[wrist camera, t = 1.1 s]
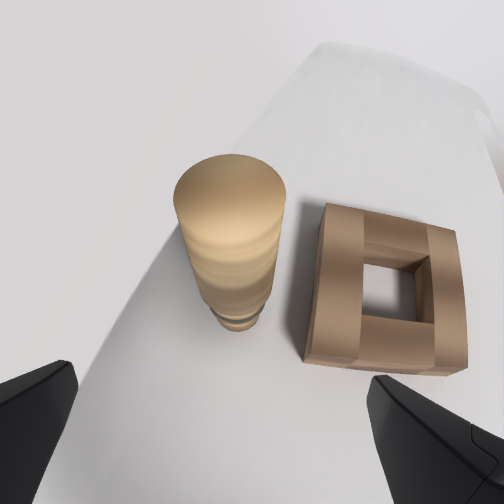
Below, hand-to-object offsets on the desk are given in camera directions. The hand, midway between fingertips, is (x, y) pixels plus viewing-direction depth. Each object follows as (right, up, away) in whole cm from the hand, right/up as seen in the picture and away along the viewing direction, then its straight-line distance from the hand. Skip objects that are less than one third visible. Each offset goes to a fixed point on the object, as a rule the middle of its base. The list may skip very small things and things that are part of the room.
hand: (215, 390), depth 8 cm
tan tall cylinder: (0, 0, +15) cm, 15 cm away
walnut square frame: (+12, 0, +16) cm, 20 cm away
